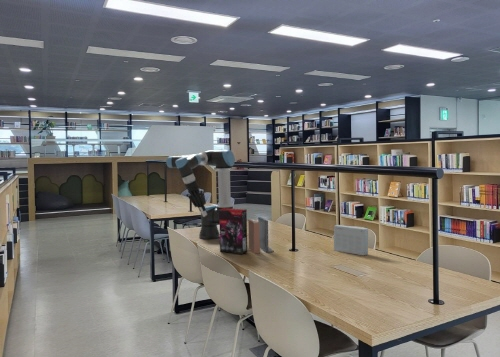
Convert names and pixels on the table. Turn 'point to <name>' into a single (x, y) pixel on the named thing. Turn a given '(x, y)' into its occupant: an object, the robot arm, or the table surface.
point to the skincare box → (351, 239)
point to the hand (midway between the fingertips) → (205, 215)
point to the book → (254, 236)
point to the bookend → (264, 235)
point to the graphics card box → (233, 230)
